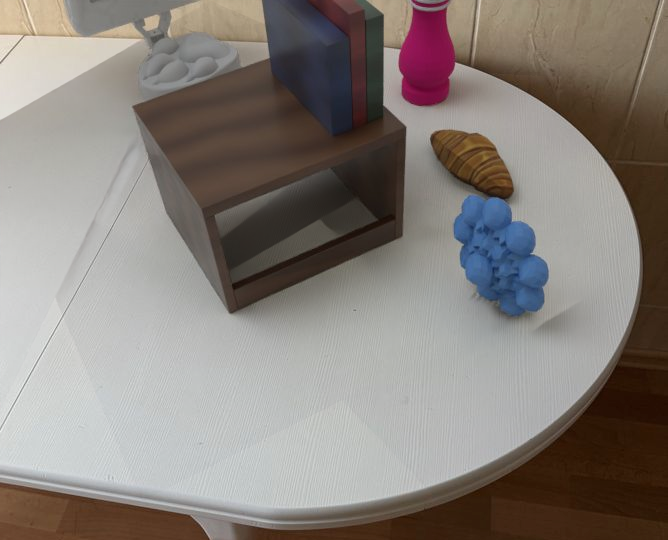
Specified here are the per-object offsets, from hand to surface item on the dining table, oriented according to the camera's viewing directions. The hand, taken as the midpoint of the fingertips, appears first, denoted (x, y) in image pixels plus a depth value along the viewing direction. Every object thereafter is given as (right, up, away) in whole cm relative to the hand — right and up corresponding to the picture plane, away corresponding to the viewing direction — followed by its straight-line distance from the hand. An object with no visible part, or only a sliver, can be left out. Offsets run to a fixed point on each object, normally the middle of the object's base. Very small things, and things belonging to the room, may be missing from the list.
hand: (157, 44), depth 96 cm
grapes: (+39, -37, -25) cm, 60 cm away
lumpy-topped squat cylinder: (+6, -10, -3) cm, 12 cm away
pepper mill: (+36, -8, -3) cm, 37 cm away
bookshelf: (+18, -27, -17) cm, 37 cm away
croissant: (+40, -21, -13) cm, 47 cm away
